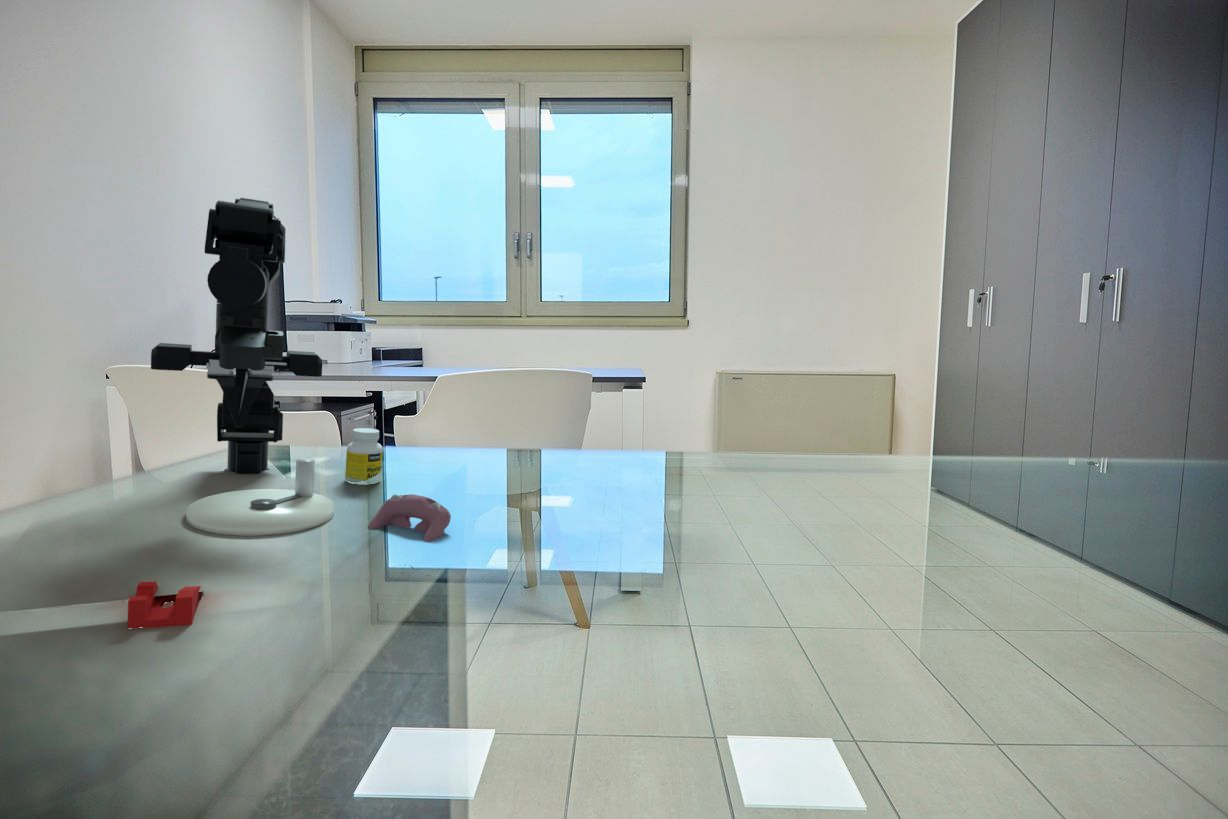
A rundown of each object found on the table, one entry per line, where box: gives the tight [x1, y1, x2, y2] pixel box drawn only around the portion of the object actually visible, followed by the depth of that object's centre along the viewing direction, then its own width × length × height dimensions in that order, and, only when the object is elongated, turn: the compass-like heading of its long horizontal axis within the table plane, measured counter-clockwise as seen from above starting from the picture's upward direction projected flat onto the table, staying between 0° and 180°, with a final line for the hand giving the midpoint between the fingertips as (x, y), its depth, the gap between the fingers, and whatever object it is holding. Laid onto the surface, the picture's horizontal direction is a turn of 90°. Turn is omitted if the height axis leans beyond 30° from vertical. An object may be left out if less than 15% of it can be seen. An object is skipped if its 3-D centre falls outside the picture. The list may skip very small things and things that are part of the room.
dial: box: [185, 457, 335, 537], centre depth 87 cm, size 17×17×6 cm
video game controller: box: [367, 493, 452, 542], centre depth 88 cm, size 10×5×7 cm, turn 72°
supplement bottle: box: [344, 427, 384, 483], centre depth 108 cm, size 5×5×10 cm
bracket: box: [127, 580, 204, 629], centre depth 63 cm, size 6×5×3 cm
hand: (238, 426), depth 87 cm, fingers closed
